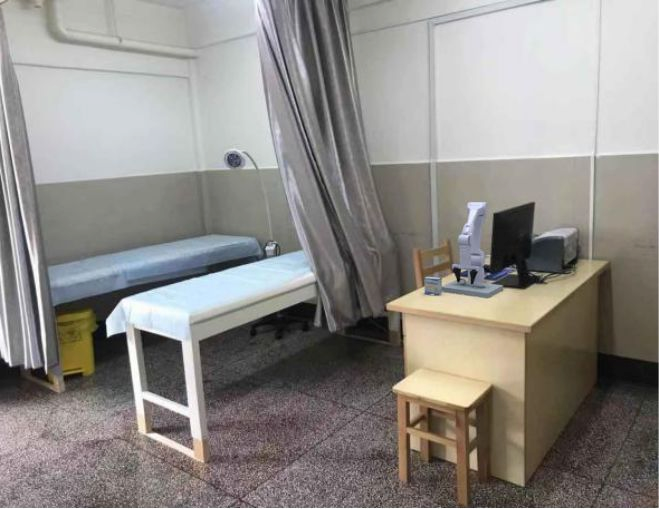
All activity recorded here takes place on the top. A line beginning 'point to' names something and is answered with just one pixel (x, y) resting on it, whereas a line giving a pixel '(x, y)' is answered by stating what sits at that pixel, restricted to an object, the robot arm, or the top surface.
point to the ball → (462, 281)
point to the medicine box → (433, 285)
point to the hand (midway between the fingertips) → (465, 283)
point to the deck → (472, 288)
